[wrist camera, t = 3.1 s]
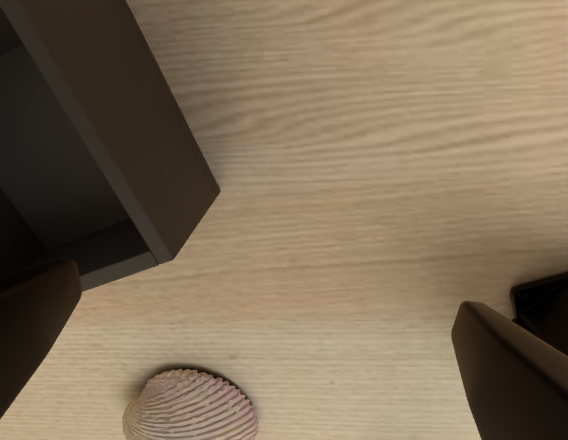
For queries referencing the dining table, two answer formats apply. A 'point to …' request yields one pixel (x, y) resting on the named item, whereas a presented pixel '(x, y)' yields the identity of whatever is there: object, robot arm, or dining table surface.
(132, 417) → the seashell
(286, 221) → the dining table surface
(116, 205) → the waste bin
